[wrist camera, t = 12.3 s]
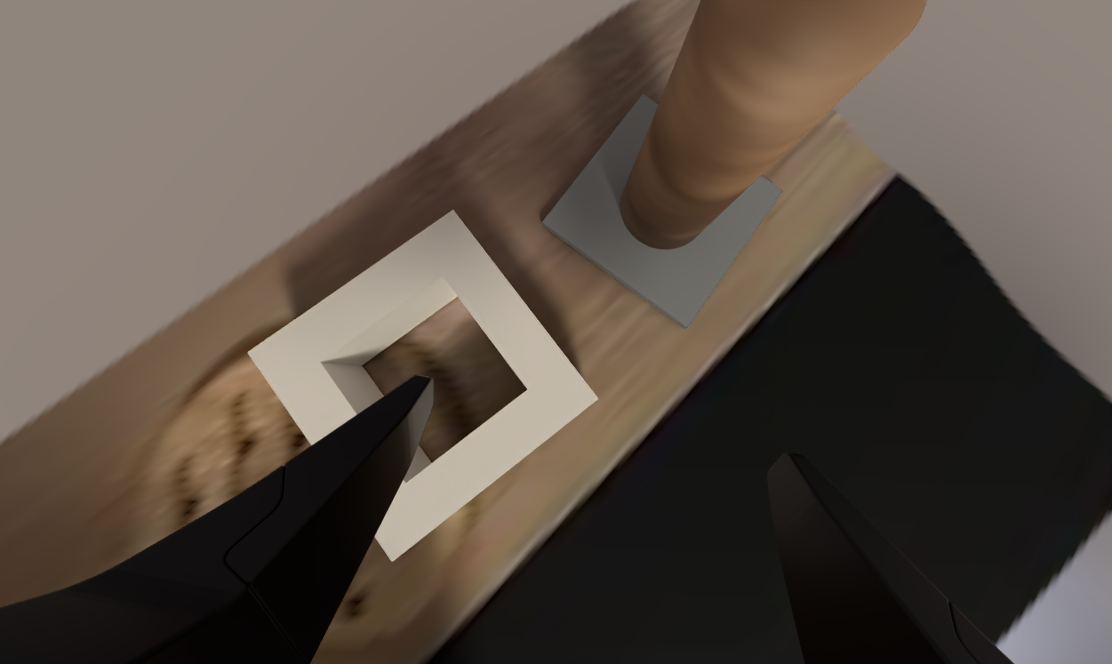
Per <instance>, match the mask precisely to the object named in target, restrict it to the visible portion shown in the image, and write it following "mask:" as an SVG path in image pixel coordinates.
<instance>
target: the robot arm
mask: <svg viewBox="0 0 1112 664" xmlns="http://www.w3.org/2000/svg"><path fill="white" fill-rule="evenodd" d="M433 402H434V382H433V378H431V377H429V376H424V375H419V374H417V375H414V376H413V377H411V378H410V379H408V380H407V381H405V382H404V383H402V384H401V385H399V386H398V387H397V388H395V389H394V390H392V391H391V392H389V393H388V394H386V395H385V396H383V397H382V398H380V399H379V400H377V401H376V402H375V403H373V404H372V405H370V406H369V407H367V408H366V409H364V410H363V411H361V412H360V413H358V414H357V415H355V416H354V417H353V418H351V419H350V420H348V421H347V422H345V423H344V424H342V425H341V426H339V427H338V428H336V429H335V430H333V431H332V432H331V433H329V434H328V435H326V436H325V437H323V438H322V439H320V440H319V441H317V442H316V443H314V444H313V445H311V446H310V447H309V448H307V449H306V450H304V451H303V452H301V453H300V454H298V455H297V456H295V457H294V458H292V459H291V460H290V461H288V462H287V463H286V464H285V466H280V467H279V468H278V469H276V470H275V471H273V472H272V473H270V474H269V475H267V476H266V477H264V478H263V479H261V480H260V481H258V482H257V483H255V484H254V485H252V486H251V487H249V488H247V489H246V490H244V491H243V492H241V493H240V494H238V495H237V496H235V497H233V498H232V499H230V500H228V501H227V502H225V503H223V504H222V505H220V506H218V507H217V508H215V509H213V510H212V511H210V512H208V513H207V514H205V515H203V516H202V517H200V518H198V519H196V520H195V521H193V522H191V523H189V524H188V525H186V526H184V527H183V528H181V529H179V530H177V531H176V532H174V533H172V534H170V535H169V536H167V537H165V538H164V539H162V540H160V541H158V542H157V543H155V544H153V545H151V546H150V547H148V548H146V549H145V550H143V551H141V552H139V553H138V554H136V555H134V556H132V557H131V558H129V559H127V560H125V561H124V562H122V563H120V564H118V565H116V566H114V567H113V568H111V569H109V570H107V571H105V572H102V573H100V574H98V575H96V576H94V577H92V578H89V579H87V580H85V581H82V582H80V583H78V584H75V585H72V586H70V587H67V588H64V589H61V590H58V591H55V592H51V593H48V594H45V595H41V596H38V597H35V598H31V599H28V600H24V601H21V602H18V603H14V604H11V605H7V606H4V607H1V608H0V664H310V663H311V661H312V659H313V657H314V655H315V653H316V651H317V649H318V647H319V645H320V643H321V641H322V639H323V637H324V635H325V633H326V631H327V629H328V627H329V625H330V623H331V621H332V619H333V617H334V615H335V613H336V611H337V610H338V608H339V606H340V604H341V602H342V600H343V598H344V596H345V594H346V592H347V590H348V588H349V586H350V584H351V582H352V580H353V578H354V576H355V574H356V572H357V570H358V568H359V566H360V564H361V562H362V560H363V558H364V556H365V554H366V552H367V551H368V549H369V547H370V545H371V543H372V541H373V539H374V537H375V535H376V533H377V531H378V529H379V527H380V525H381V523H382V521H383V519H384V517H385V515H386V513H387V511H388V509H389V507H390V505H391V503H392V501H393V499H394V497H395V495H396V493H397V491H398V490H399V488H400V486H401V484H402V482H403V480H404V478H405V476H406V474H407V472H408V470H409V468H410V465H411V463H412V461H413V458H414V456H415V453H416V450H417V448H418V445H419V442H420V439H421V437H422V434H423V431H424V429H425V426H426V423H427V421H428V418H429V415H430V413H431V410H432V407H433ZM767 483H768V490H769V498H770V505H771V513H772V520H773V528H774V534H775V540H776V545H777V549H778V553H779V558H780V562H781V566H782V570H783V574H784V579H785V583H786V587H787V591H788V595H789V600H790V604H791V608H792V612H793V616H794V621H795V625H796V629H797V633H798V637H799V641H800V646H801V650H802V654H803V658H804V662H805V664H1014V663H1013V662H1012V661H1011V660H1010V659H1009V658H1008V657H1006V656H1005V655H1004V654H1003V653H1002V652H1001V651H1000V650H999V649H998V648H997V647H996V646H995V645H994V644H993V643H992V642H991V641H990V640H989V639H988V638H987V637H986V636H985V635H984V634H983V633H982V632H980V631H979V630H978V629H977V628H976V627H975V626H974V625H973V624H972V623H971V622H970V621H969V620H968V619H967V618H966V617H965V616H964V615H963V614H962V613H961V612H960V611H959V610H958V609H957V608H956V607H955V606H954V605H953V604H952V603H951V602H948V599H947V598H946V597H945V596H944V595H943V594H942V593H941V592H940V591H939V590H938V589H937V588H936V587H935V586H934V585H933V584H932V583H931V582H930V581H929V580H928V579H927V578H926V577H925V576H924V575H923V574H922V573H921V572H920V571H919V570H918V569H917V568H916V567H915V566H914V565H913V564H912V563H911V562H910V561H909V560H908V559H907V558H906V557H905V556H904V555H903V554H902V553H901V552H900V551H899V550H898V549H897V548H896V547H895V546H894V545H893V544H892V543H891V542H890V541H889V540H888V539H887V538H886V537H885V536H884V535H883V534H882V533H881V532H880V531H879V530H878V529H877V528H876V527H875V526H874V525H873V524H872V523H871V522H870V521H869V520H868V519H867V518H866V517H865V516H864V515H863V514H862V513H861V512H860V511H859V510H858V509H857V508H856V507H855V506H854V505H853V504H852V503H851V502H850V501H849V500H848V499H847V498H846V497H845V496H844V495H843V494H842V493H841V492H840V491H839V490H838V489H837V488H836V487H835V486H834V485H833V484H832V483H831V482H830V481H829V480H828V479H827V478H826V477H825V476H824V475H823V474H822V473H821V472H820V471H819V470H818V469H817V468H816V467H815V466H814V465H813V464H812V463H811V462H810V461H809V460H808V459H807V458H805V457H804V456H802V455H799V454H794V453H790V452H786V453H784V454H782V455H781V457H780V458H779V459H778V460H777V461H776V462H775V463H774V465H773V466H772V467H771V468H770V469H769V471H768V474H767Z"/></svg>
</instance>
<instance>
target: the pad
mask: <svg viewBox="0 0 1112 664" xmlns="http://www.w3.org/2000/svg"><path fill="white" fill-rule="evenodd" d="M658 105H659V104H657V103H656V102H654V101H653V100H652V99H650V98H649V97H647V96H646V95H644V94H642V95H641V97H640V98H639V99H638V100H637V102H636V103H635V104H634V106H633V107H632V108H631V109H630V111H629V112H628V113H627V114H626V116H625V117H624V118H623V120H622V121H621V122H620V123H619V125H618V126H617V127H616V128H615V130H614V131H613V132H612V134H611V135H610V136H609V137H608V139H607V140H606V141H605V142H604V144H603V145H602V146H601V148H600V149H599V150H598V151H597V153H596V154H595V155H594V156H593V158H592V159H591V160H590V162H589V163H588V164H587V165H586V167H585V168H584V169H583V170H582V172H581V173H580V174H579V176H578V177H577V178H576V179H575V181H574V182H573V183H572V184H571V186H570V187H569V188H568V190H567V191H566V192H565V193H564V195H563V196H562V197H561V198H560V200H559V201H558V202H557V204H556V205H555V206H554V207H553V209H552V210H551V211H550V212H549V214H548V215H547V216H546V218H545V219H544V220H543V221H542V226H543V227H545V228H546V229H547V230H549V231H550V232H552V233H553V234H554V235H556V236H557V237H558V238H560V239H561V240H563V241H564V242H565V243H567V244H568V245H569V246H571V247H572V248H574V249H575V250H576V251H578V252H579V253H580V254H582V255H583V256H585V257H586V258H587V259H589V260H590V261H592V262H593V263H594V264H596V265H597V266H598V267H600V268H601V269H603V270H604V271H605V272H607V273H608V274H609V275H611V276H612V277H614V278H615V279H616V280H618V281H619V282H620V283H622V284H623V285H625V286H626V287H627V288H629V289H630V290H632V291H633V292H634V293H636V294H637V295H638V296H640V297H641V298H643V299H644V300H645V301H647V302H648V303H649V304H651V305H652V306H654V307H655V308H656V309H658V310H659V311H660V312H662V313H663V314H665V315H666V316H667V317H669V318H670V319H672V320H673V321H674V322H676V323H677V324H678V325H680V326H681V327H683V328H684V329H685V328H688V326H689V325H690V323H691V322H692V320H693V319H694V318H695V316H696V315H697V313H698V312H699V310H700V309H701V308H702V306H703V305H704V303H705V302H706V300H707V299H708V298H709V296H710V295H711V293H712V292H713V290H714V289H715V288H716V286H717V285H718V283H719V282H720V280H721V279H722V278H723V276H724V275H725V273H726V272H727V270H728V269H729V268H730V266H731V265H732V263H733V262H734V260H735V259H736V257H737V256H738V255H739V253H740V252H741V250H742V249H743V247H744V246H745V245H746V243H747V242H748V240H749V239H750V237H751V236H752V235H753V233H754V232H755V230H756V229H757V227H758V226H759V225H760V223H761V222H762V220H763V219H764V217H765V216H766V215H767V213H768V212H769V210H770V209H771V207H772V206H773V205H774V203H775V202H776V200H777V199H778V197H779V196H780V194H781V193H782V192H783V191H782V190H781V189H780V188H778V187H777V186H775V185H774V184H772V183H771V182H770V181H768V180H767V179H765V178H764V177H762V176H760V177H759V178H758V179H757V180H756V181H755V182H754V183H753V184H752V185H751V186H749V187H748V188H747V189H746V190H745V191H744V192H743V193H742V194H741V195H740V196H739V197H738V198H737V199H736V200H735V201H734V202H733V203H732V204H731V205H730V206H728V207H727V208H726V209H725V210H724V211H723V212H722V213H721V214H720V215H719V216H718V217H717V218H716V219H715V220H714V221H713V222H712V223H711V224H710V225H708V226H707V227H706V228H705V229H704V230H703V231H702V232H701V233H700V234H699V235H698V236H697V237H696V238H695V239H694V240H692V241H691V242H690V243H688V244H686V245H684V246H682V247H679V248H676V249H668V250H663V249H656V248H652V247H649V246H647V245H645V244H643V243H641V242H640V241H638V240H637V239H636V238H635V237H634V236H633V235H632V234H631V233H630V232H629V231H628V229H627V228H626V226H625V224H624V222H623V219H622V215H621V209H620V202H621V196H622V193H623V190H624V188H625V186H626V183H627V181H628V178H629V176H630V173H631V171H632V168H633V166H634V163H635V161H636V159H637V156H638V154H639V151H640V149H641V146H642V144H643V141H644V139H645V136H646V134H647V132H648V129H649V127H650V124H651V122H652V119H653V117H654V114H655V112H656V109H657V107H658Z"/></svg>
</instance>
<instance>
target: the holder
mask: <svg viewBox="0 0 1112 664" xmlns="http://www.w3.org/2000/svg"><path fill="white" fill-rule="evenodd" d="M457 296H458V298H459V299H460V300H461V302H462V303H463V304H464V306H465V307H466V308H467V310H468V311H469V312H470V314H471V315H472V316H473V318H474V319H475V320H476V322H477V323H478V324H479V326H480V327H481V328H482V330H483V331H484V332H485V334H486V335H487V336H488V338H489V339H490V340H491V342H492V343H493V344H494V346H495V347H496V348H497V350H498V351H499V352H500V353H501V355H502V356H503V357H504V359H505V360H506V361H507V363H508V364H509V365H510V367H511V368H512V369H513V371H514V372H515V373H516V375H517V376H518V377H519V379H520V380H521V381H522V383H523V384H524V385H525V387H526V388H527V389H528V390H526V391H525V392H524V393H522V394H521V395H520V396H518V397H517V398H516V399H515V400H513V401H512V402H511V403H509V404H508V405H507V406H505V407H504V408H503V409H502V410H500V411H499V412H498V413H496V414H495V415H494V416H492V417H491V418H490V419H489V420H487V421H486V422H485V423H483V424H482V425H481V426H479V427H478V428H477V429H476V430H474V431H473V432H472V433H470V434H469V435H468V436H466V437H465V438H464V439H463V440H461V441H460V442H459V443H457V444H456V445H455V446H454V447H452V448H451V449H450V450H448V451H447V452H446V453H444V454H443V455H442V456H441V457H439V458H438V459H437V460H435V461H434V462H433V463H431V461H430V460H429V458H428V457H427V456H426V454H425V453H424V451H423V450H422V449H421V447H420V446H419V445H418V448H417V450H416V453H415V456H414V458H413V461H412V463H411V465H410V468H409V470H408V472H407V474H406V476H405V478H404V480H403V482H402V484H401V486H400V488H399V490H398V491H397V493H396V495H395V497H394V499H393V501H392V503H391V505H390V507H389V509H388V511H387V513H386V515H385V517H384V519H383V521H382V523H381V525H380V527H379V529H378V531H377V533H376V535H375V538H376V540H377V541H378V543H379V544H380V546H381V547H382V548H383V550H384V551H385V553H386V554H387V556H388V557H389V559H390V560H391V561H392V562H393V561H394V560H395V559H397V558H398V557H399V556H400V555H402V554H403V553H404V552H405V551H407V550H408V549H409V548H411V547H412V546H413V545H414V544H416V543H417V542H418V541H419V540H421V539H422V538H423V537H424V536H426V535H427V534H428V533H430V532H431V531H432V530H433V529H435V528H436V527H437V526H438V525H440V524H441V523H442V522H443V521H445V520H446V519H447V518H448V517H450V516H451V515H452V514H454V513H455V512H456V511H457V510H459V509H460V508H461V507H462V506H464V505H465V504H466V503H467V502H469V501H470V500H471V499H473V498H474V497H475V496H476V495H478V494H479V493H480V492H481V491H483V490H484V489H485V488H486V487H488V486H489V485H490V484H491V483H493V482H494V481H495V480H497V479H498V478H499V477H500V476H502V475H503V474H504V473H505V472H507V471H508V470H509V469H510V468H512V467H513V466H514V465H516V464H517V463H518V462H519V461H521V460H522V459H523V458H524V457H526V456H527V455H528V454H529V453H531V452H532V451H533V450H534V449H536V448H537V447H538V446H540V445H541V444H542V443H543V442H545V441H546V440H547V439H548V438H550V437H551V436H552V435H553V434H555V433H556V432H557V431H559V430H560V429H561V428H562V427H564V426H565V425H566V424H567V423H569V422H570V421H571V420H572V419H574V418H575V417H576V416H577V415H579V414H580V413H581V412H583V411H584V410H585V409H586V408H588V407H589V406H590V405H591V404H593V403H594V402H595V401H596V400H598V398H597V396H596V395H595V394H594V392H593V391H592V390H591V388H590V387H589V386H588V385H587V383H586V382H585V381H584V379H583V378H582V377H581V375H580V374H579V373H578V371H577V370H576V369H575V368H574V366H573V365H572V364H571V362H570V361H569V360H568V358H567V357H566V356H565V355H564V353H563V352H562V351H561V349H560V348H559V347H558V345H557V344H556V343H555V342H554V340H553V339H552V338H551V336H550V335H549V334H548V332H547V331H546V330H545V329H544V327H543V326H542V325H541V323H540V322H539V321H538V319H537V318H536V317H535V316H534V314H533V313H532V312H531V310H530V309H529V308H528V306H527V305H526V304H525V302H524V301H523V300H522V299H521V297H520V296H519V295H518V293H517V292H516V291H515V289H514V288H513V287H512V286H511V284H510V283H509V282H508V280H507V279H506V278H505V276H504V275H503V274H502V273H501V271H500V270H499V269H498V267H497V266H496V265H495V263H494V262H493V261H492V260H491V258H490V257H489V256H488V254H487V253H486V252H485V250H484V249H483V248H482V246H481V245H480V244H479V243H478V241H477V240H476V239H475V237H474V236H473V235H472V233H471V232H470V231H469V230H468V228H467V227H466V226H465V224H464V223H463V222H462V220H461V219H460V218H459V217H458V215H457V214H456V213H455V211H454V210H452V211H450V212H449V213H448V214H446V215H445V216H443V217H442V218H440V219H439V220H437V221H436V222H435V223H433V224H432V225H430V226H429V227H427V228H426V229H424V230H423V231H422V232H420V233H419V234H417V235H416V236H414V237H413V238H412V239H410V240H409V241H407V242H406V243H404V244H403V245H401V246H400V247H399V248H397V249H396V250H394V251H393V252H391V253H390V254H388V255H387V256H386V257H384V258H383V259H381V260H380V261H378V262H377V263H376V264H374V265H373V266H371V267H370V268H368V269H367V270H365V271H364V272H363V273H361V274H360V275H358V276H357V277H355V278H354V279H352V280H351V281H350V282H348V283H347V284H345V285H344V286H342V287H341V288H340V289H338V290H337V291H335V292H334V293H332V294H331V295H329V296H328V297H327V298H325V299H324V300H322V301H321V302H319V303H318V304H316V305H315V306H314V307H312V308H311V309H309V310H308V311H306V312H305V313H303V314H302V315H301V316H299V317H298V318H296V319H295V320H293V321H292V322H291V323H289V324H288V325H286V326H285V327H283V328H282V329H280V330H279V331H278V332H276V333H275V334H273V335H272V336H270V337H269V338H267V339H266V340H265V341H263V342H262V343H260V344H259V345H257V346H256V347H255V348H253V349H252V350H250V351H249V352H247V353H248V354H249V356H250V357H251V358H252V360H253V361H254V363H255V364H256V366H257V367H258V369H259V370H260V371H261V373H262V374H263V376H264V377H265V379H266V380H267V382H268V383H269V385H270V386H271V387H272V389H273V390H274V392H275V393H276V395H277V396H278V398H279V399H280V400H281V402H282V403H283V405H284V406H285V408H286V409H287V411H288V412H289V414H290V415H291V416H292V418H293V419H294V421H295V422H296V424H297V425H298V427H299V428H300V429H301V431H302V432H303V434H304V435H305V437H306V438H307V440H308V441H309V443H310V444H311V445H313V444H314V443H316V442H317V441H319V440H320V439H322V438H323V437H325V436H326V435H328V434H329V433H331V432H332V431H333V430H335V429H336V428H338V427H339V426H341V425H342V424H344V423H345V422H347V421H348V420H350V419H351V418H353V417H354V416H355V415H357V414H358V413H360V412H361V411H363V410H364V409H366V408H367V407H369V406H370V405H372V404H373V403H375V402H376V401H377V400H379V399H380V398H382V397H383V394H382V393H381V391H380V390H379V389H378V387H377V386H376V384H375V383H374V382H373V380H372V379H371V377H370V376H369V375H368V373H367V372H366V370H365V369H364V368H363V366H362V365H363V364H365V363H366V362H367V361H369V360H370V359H372V358H373V357H374V356H376V355H377V354H379V353H380V352H381V351H383V350H384V349H385V348H387V347H388V346H390V345H391V344H392V343H394V342H395V341H397V340H398V339H399V338H401V337H402V336H403V335H405V334H406V333H408V332H409V331H410V330H412V329H413V328H415V327H416V326H417V325H419V324H420V323H421V322H423V321H424V320H426V319H427V318H428V317H430V316H431V315H432V314H434V313H435V312H437V311H438V310H439V309H441V308H442V307H444V306H445V305H446V304H448V303H449V302H450V301H452V300H453V299H455V298H456V297H457Z"/></svg>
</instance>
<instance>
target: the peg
mask: <svg viewBox="0 0 1112 664" xmlns="http://www.w3.org/2000/svg"><path fill="white" fill-rule="evenodd" d="M926 1H927V0H701V2H700V4H699V6H698V9H697V11H696V14H695V16H694V19H693V21H692V24H691V26H690V29H689V31H688V33H687V36H686V38H685V41H684V43H683V46H682V48H681V51H680V53H679V56H678V58H677V60H676V63H675V65H674V68H673V70H672V73H671V75H670V78H669V80H668V82H667V85H666V87H665V90H664V92H663V95H662V97H661V100H660V102H659V105H658V107H657V109H656V112H655V114H654V117H653V119H652V122H651V124H650V127H649V129H648V132H647V134H646V136H645V139H644V141H643V144H642V146H641V149H640V151H639V154H638V156H637V159H636V161H635V163H634V166H633V168H632V171H631V173H630V176H629V178H628V181H627V183H626V186H625V188H624V190H623V193H622V196H621V202H620V209H621V215H622V219H623V222H624V224H625V226H626V228H627V229H628V231H629V232H630V233H631V234H632V235H633V236H634V237H635V238H636V239H637V240H638V241H640V242H641V243H643V244H645V245H647V246H649V247H652V248H656V249H663V250H668V249H676V248H679V247H682V246H684V245H686V244H688V243H690V242H691V241H692V240H694V239H695V238H696V237H697V236H698V235H699V234H700V233H701V232H702V231H703V230H704V229H705V228H706V227H707V226H708V225H710V224H711V223H712V222H713V221H714V220H715V219H716V218H717V217H718V216H719V215H720V214H721V213H722V212H723V211H724V210H725V209H726V208H727V207H728V206H730V205H731V204H732V203H733V202H734V201H735V200H736V199H737V198H738V197H739V196H740V195H741V194H742V193H743V192H744V191H745V190H746V189H747V188H748V187H749V186H751V185H752V184H753V183H754V182H755V181H756V180H757V179H758V178H759V177H760V176H761V175H762V174H763V173H764V172H765V171H766V170H767V169H768V168H769V167H771V166H772V165H773V164H774V163H775V162H776V161H777V160H778V159H779V158H780V157H781V156H782V155H783V154H784V153H785V152H786V151H787V150H788V149H789V148H791V147H792V146H793V145H794V144H795V143H796V142H797V141H798V140H799V139H800V138H801V137H802V136H803V135H804V134H805V133H806V132H807V131H808V130H809V129H811V128H812V127H813V126H814V125H815V124H816V123H817V122H818V121H819V120H820V119H821V118H822V117H823V116H824V115H825V114H826V113H827V112H828V111H829V110H831V109H832V108H833V107H834V106H835V105H836V104H837V103H838V102H839V101H840V100H841V99H842V98H843V97H844V96H845V95H846V94H847V93H848V92H849V91H850V90H852V88H854V87H855V85H857V84H858V83H859V82H860V81H861V80H862V79H863V78H864V77H865V76H866V75H867V74H868V73H869V72H870V71H872V69H873V68H875V67H876V66H877V65H878V64H879V63H880V62H881V61H882V60H883V59H884V58H885V57H886V56H887V55H888V54H889V53H890V52H891V51H893V50H894V49H895V48H896V46H898V45H899V44H900V43H901V42H902V41H903V40H904V39H905V38H906V37H907V36H908V35H909V34H910V33H911V31H912V30H913V29H914V28H915V26H916V25H917V23H918V21H919V20H920V18H921V16H922V13H923V10H924V8H925V5H926Z"/></svg>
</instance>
